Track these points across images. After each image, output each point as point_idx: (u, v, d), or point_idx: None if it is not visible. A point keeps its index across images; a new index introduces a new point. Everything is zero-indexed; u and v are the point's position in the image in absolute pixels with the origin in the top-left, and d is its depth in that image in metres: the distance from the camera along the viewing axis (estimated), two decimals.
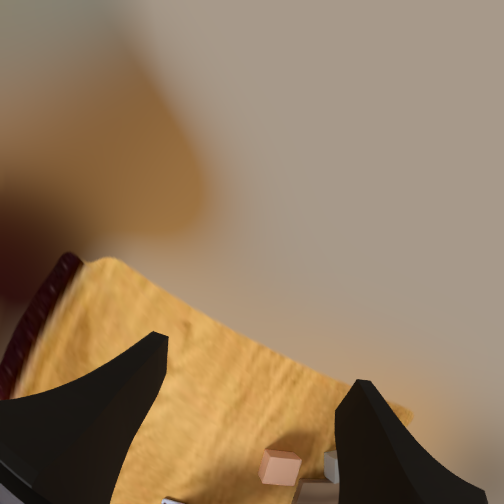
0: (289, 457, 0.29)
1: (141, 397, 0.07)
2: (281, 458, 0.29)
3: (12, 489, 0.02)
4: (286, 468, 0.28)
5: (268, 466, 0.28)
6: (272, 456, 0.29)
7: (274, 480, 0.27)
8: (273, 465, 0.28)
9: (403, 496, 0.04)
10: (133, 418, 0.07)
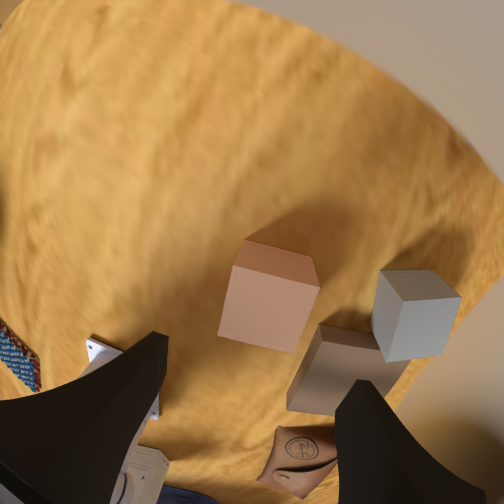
0: (289, 273, 0.14)
1: (141, 397, 0.07)
2: (263, 273, 0.14)
3: (12, 489, 0.02)
4: (275, 306, 0.14)
5: (229, 293, 0.14)
6: (241, 264, 0.14)
7: (245, 333, 0.15)
8: (242, 292, 0.14)
9: (403, 496, 0.04)
10: (133, 418, 0.07)
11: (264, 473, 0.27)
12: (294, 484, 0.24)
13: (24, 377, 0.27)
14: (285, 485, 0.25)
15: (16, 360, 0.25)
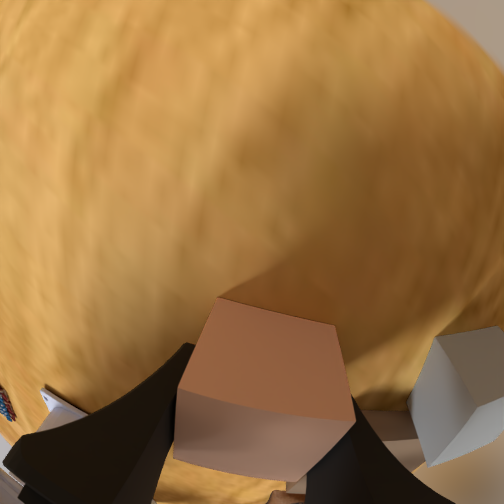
0: (297, 391, 0.06)
1: None
2: (241, 405, 0.06)
3: None
4: (268, 444, 0.06)
5: (180, 421, 0.06)
6: (197, 381, 0.06)
7: (218, 463, 0.07)
8: (203, 424, 0.06)
9: (360, 502, 0.04)
10: (171, 432, 0.07)
11: None
12: None
13: None
14: None
15: None
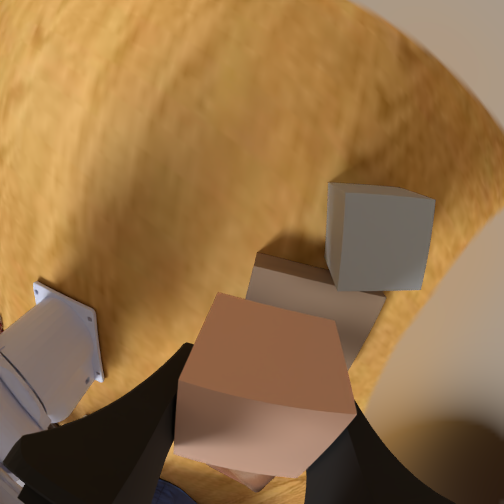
0: (298, 384, 0.06)
1: None
2: (242, 397, 0.06)
3: None
4: (269, 437, 0.06)
5: (180, 415, 0.06)
6: (198, 374, 0.06)
7: (218, 458, 0.07)
8: (203, 417, 0.06)
9: (360, 502, 0.04)
10: (171, 432, 0.07)
11: None
12: (245, 472, 0.22)
13: None
14: (235, 472, 0.22)
15: None
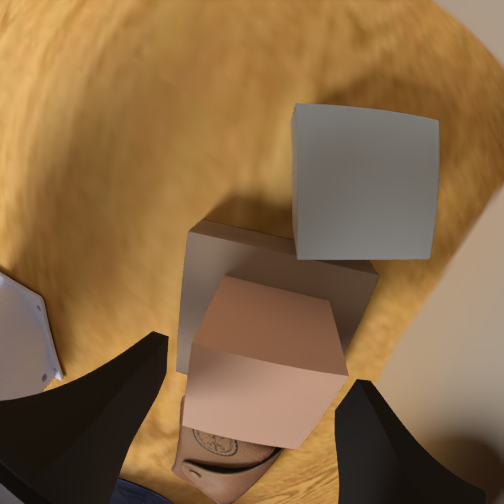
0: (295, 349, 0.08)
1: (141, 397, 0.07)
2: (247, 356, 0.07)
3: (12, 489, 0.02)
4: (270, 401, 0.08)
5: (191, 380, 0.08)
6: (208, 338, 0.07)
7: (224, 427, 0.08)
8: (212, 381, 0.07)
9: (403, 496, 0.04)
10: (133, 418, 0.07)
11: (175, 463, 0.20)
12: (209, 486, 0.17)
13: None
14: (198, 485, 0.18)
15: None
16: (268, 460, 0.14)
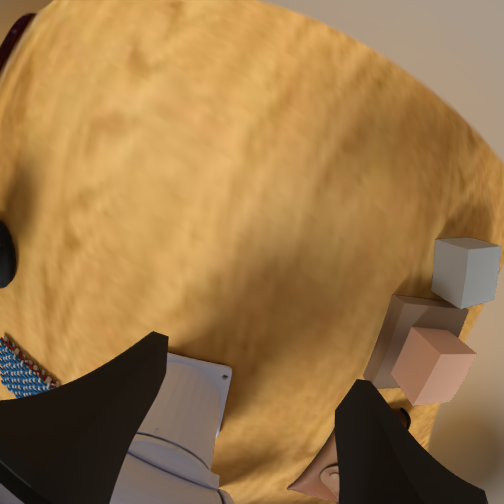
0: (459, 349, 0.15)
1: (141, 397, 0.07)
2: (454, 354, 0.14)
3: (12, 489, 0.02)
4: (453, 373, 0.14)
5: (432, 373, 0.14)
6: (441, 351, 0.14)
7: (431, 397, 0.15)
8: (439, 370, 0.14)
9: (403, 496, 0.04)
10: (133, 418, 0.07)
11: (305, 476, 0.24)
12: None
13: None
14: (331, 486, 0.22)
15: (30, 388, 0.21)
16: None
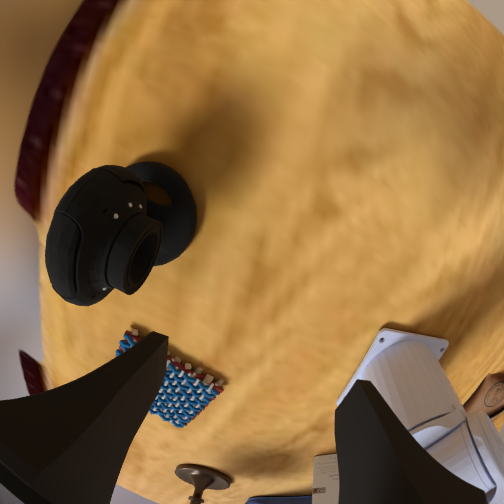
0: None
1: (141, 397, 0.07)
2: None
3: (12, 489, 0.02)
4: None
5: None
6: None
7: None
8: None
9: (403, 496, 0.04)
10: (133, 418, 0.07)
11: None
12: None
13: (172, 411, 0.24)
14: None
15: (170, 391, 0.23)
16: None
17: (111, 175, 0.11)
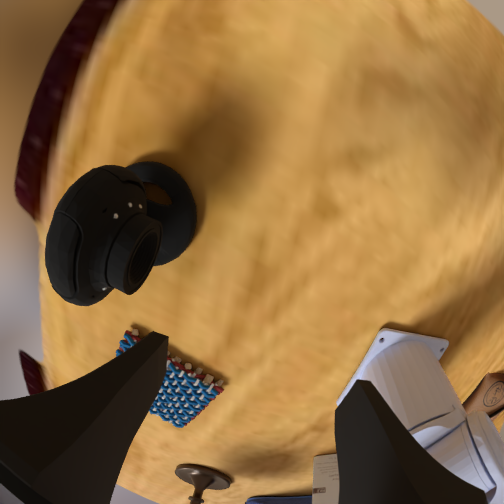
0: None
1: (141, 397, 0.07)
2: None
3: (12, 489, 0.02)
4: None
5: None
6: None
7: None
8: None
9: (403, 496, 0.04)
10: (133, 418, 0.07)
11: None
12: None
13: (172, 411, 0.24)
14: None
15: (170, 391, 0.23)
16: None
17: (111, 175, 0.11)
